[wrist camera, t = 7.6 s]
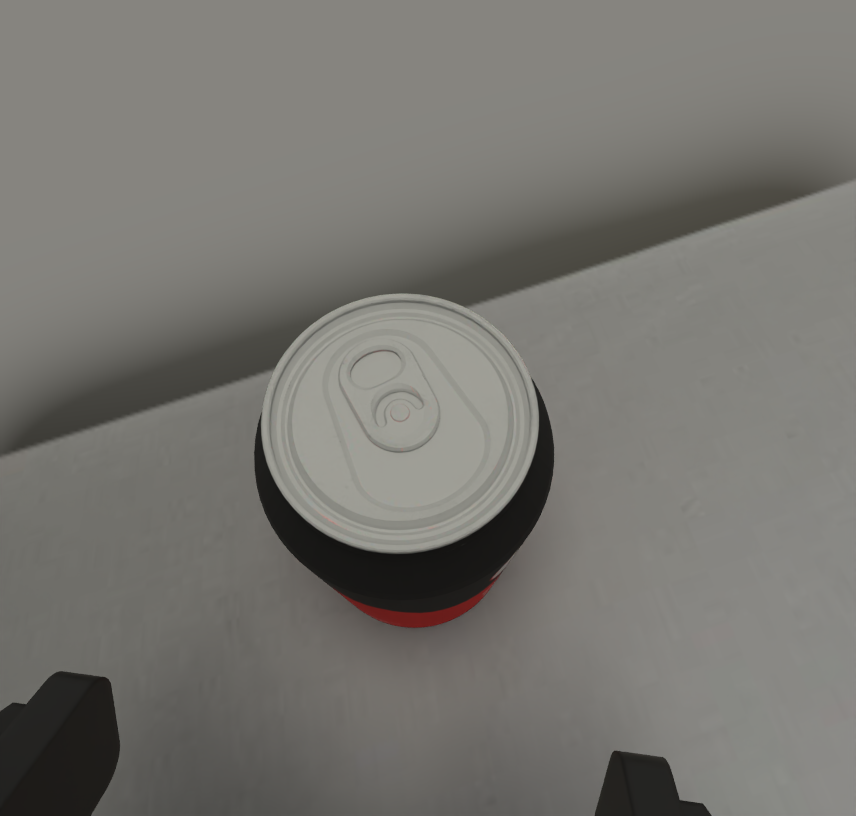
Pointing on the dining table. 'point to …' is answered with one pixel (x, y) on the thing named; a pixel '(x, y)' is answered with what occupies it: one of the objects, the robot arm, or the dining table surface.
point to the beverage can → (404, 455)
